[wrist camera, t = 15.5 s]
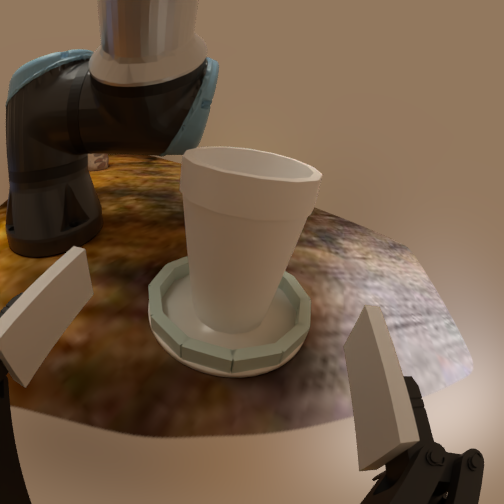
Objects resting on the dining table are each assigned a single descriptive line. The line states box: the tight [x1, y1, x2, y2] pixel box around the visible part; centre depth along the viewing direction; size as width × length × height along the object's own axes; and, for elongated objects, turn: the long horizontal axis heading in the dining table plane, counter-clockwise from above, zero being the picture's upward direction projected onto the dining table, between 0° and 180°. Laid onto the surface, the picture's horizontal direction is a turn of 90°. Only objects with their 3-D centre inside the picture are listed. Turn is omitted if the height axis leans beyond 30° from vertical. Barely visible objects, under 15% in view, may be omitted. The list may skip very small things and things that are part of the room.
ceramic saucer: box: [148, 256, 311, 378], centre depth 25 cm, size 14×14×2 cm
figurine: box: [88, 154, 108, 171], centre depth 56 cm, size 7×7×12 cm
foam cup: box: [180, 146, 322, 334], centre depth 21 cm, size 10×9×13 cm
